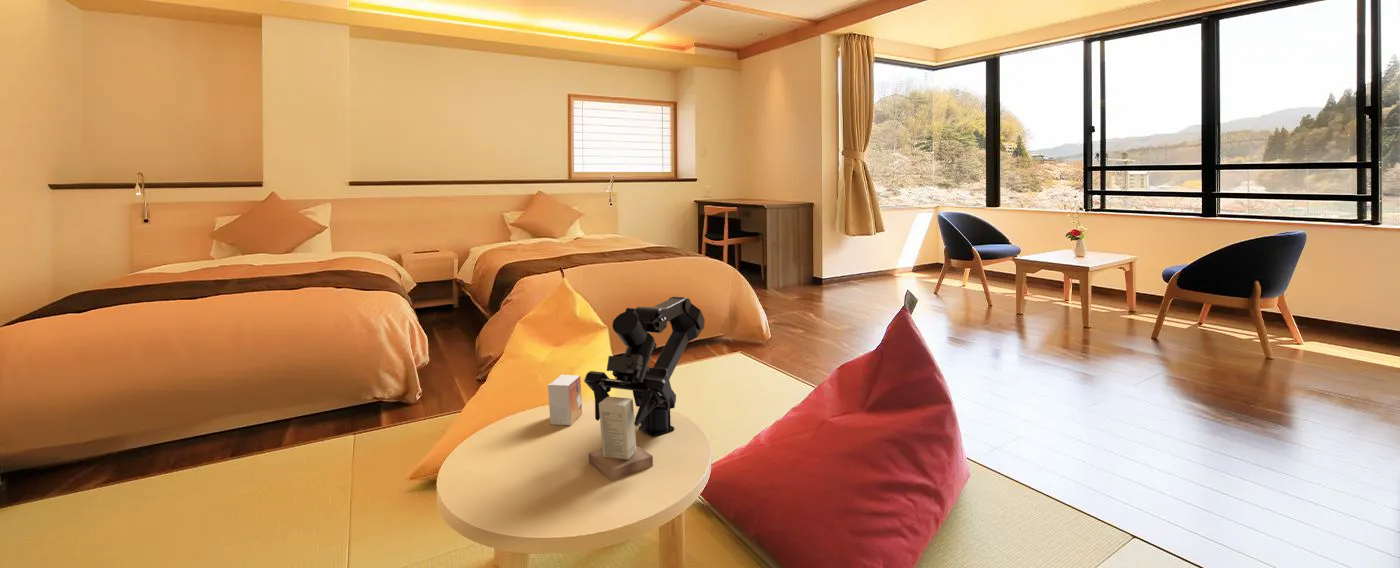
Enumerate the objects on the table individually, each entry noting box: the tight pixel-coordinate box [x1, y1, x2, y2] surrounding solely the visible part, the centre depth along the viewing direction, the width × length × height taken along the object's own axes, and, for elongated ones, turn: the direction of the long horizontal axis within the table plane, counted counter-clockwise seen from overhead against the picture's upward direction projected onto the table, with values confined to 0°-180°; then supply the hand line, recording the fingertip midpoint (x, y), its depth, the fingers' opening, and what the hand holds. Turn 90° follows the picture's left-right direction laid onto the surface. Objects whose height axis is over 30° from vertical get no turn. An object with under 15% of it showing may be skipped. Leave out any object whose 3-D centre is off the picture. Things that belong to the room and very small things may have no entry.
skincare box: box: [599, 396, 637, 460], centre depth 135 cm, size 6×4×12 cm
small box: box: [547, 374, 583, 426], centre depth 160 cm, size 8×6×10 cm
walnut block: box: [588, 444, 654, 481], centre depth 137 cm, size 10×10×3 cm
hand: (616, 422), depth 134 cm, fingers open, 9 cm apart
